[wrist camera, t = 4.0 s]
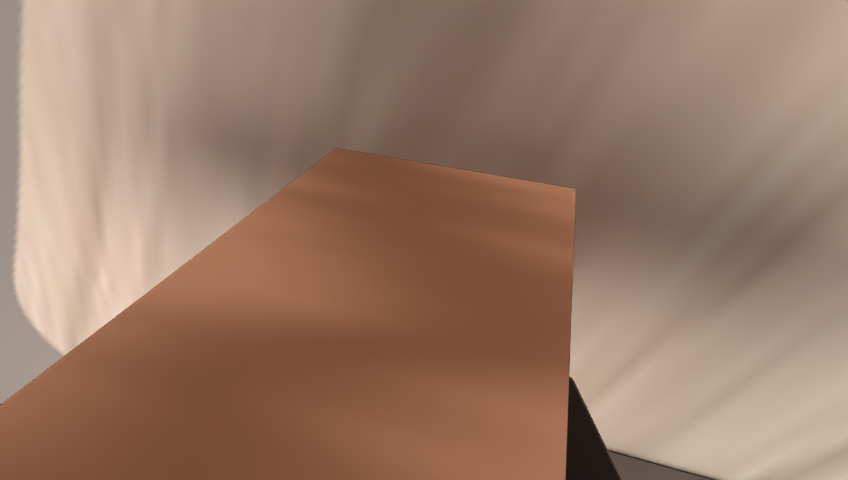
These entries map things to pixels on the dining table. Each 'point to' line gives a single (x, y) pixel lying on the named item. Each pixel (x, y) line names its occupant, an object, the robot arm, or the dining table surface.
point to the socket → (647, 470)
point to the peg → (331, 343)
